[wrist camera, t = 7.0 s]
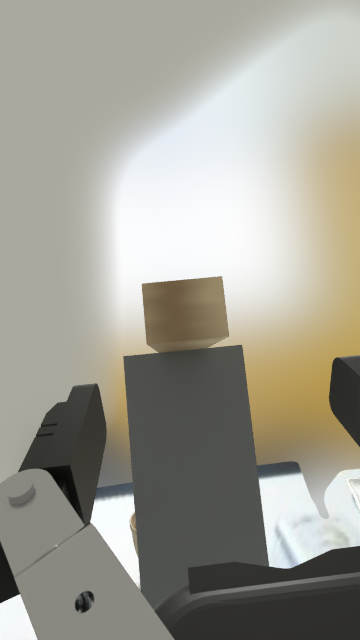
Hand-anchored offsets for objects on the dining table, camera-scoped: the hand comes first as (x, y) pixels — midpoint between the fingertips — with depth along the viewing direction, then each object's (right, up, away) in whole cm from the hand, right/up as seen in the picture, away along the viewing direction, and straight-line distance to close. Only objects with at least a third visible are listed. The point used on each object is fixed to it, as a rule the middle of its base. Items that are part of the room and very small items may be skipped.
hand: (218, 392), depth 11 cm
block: (-1, 0, +20) cm, 20 cm away
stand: (+2, -38, +22) cm, 44 cm away
